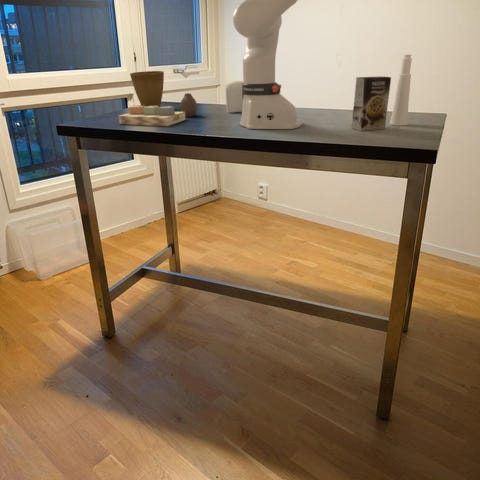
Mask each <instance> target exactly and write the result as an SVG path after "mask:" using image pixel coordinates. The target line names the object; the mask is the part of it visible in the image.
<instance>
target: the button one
mask: <svg viewBox="0 0 480 480" xmlns="http://www.w3.org/2000/svg"><path fill="white" fill-rule="evenodd" d="M143 107H145V106H141V105H132V106H129V107H128V111H129V113H130V114H139V115H140V114H143V113H144V110H143Z"/></svg>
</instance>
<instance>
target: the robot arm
mask: <svg viewBox="0 0 480 480" xmlns="http://www.w3.org/2000/svg"><path fill="white" fill-rule="evenodd" d="M298 1H299V0H244V1H243V2H242V3H239V4H238V5H237V7H236V8H235V10H234V13H233V14H232V15H233V17H232V22H233V26H234V29H235V30H236V32H238V34H239V35H242V37H244V38H246V39H247V40H246V46H245V51H244V55H243V57H242V76H243V77H242V81H243V83H242V98H243V109H242V112H241V117H240V122H239V125H240V126H242V127H244V128H247V129H250V130H252V129H254V130H292V129H297V128H299V127H302V126H303V124H304V123H303V120H302V119H299V118H297V117H298V116H297V110H296V107H295V105H294V104H293V103H292V102H290V101H289V100H288V99H287V98H286V97H284V96H283V95H282V94H281V89H282V84H279V83H278V82H276V57H277V49H278V43H279V35H280V29H281V27H282V22H283V21H282V20H283V17H282V15H283V14H284V13H285V12H286V11H287V10H289V9H290V8H291V7H292V6H293V5H295V4H296V3H297V2H298Z"/></svg>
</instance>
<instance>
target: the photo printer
mask: <svg viewBox="0 0 480 480" xmlns="http://www.w3.org/2000/svg"><path fill="white" fill-rule="evenodd" d="M242 83H243V80H234V81H231V82H230V81H229V82H228V83H226V84H225V107H226V109H225V110H226V113H227V114H233V113H242V109H243V98H242Z"/></svg>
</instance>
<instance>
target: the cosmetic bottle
mask: <svg viewBox="0 0 480 480" xmlns="http://www.w3.org/2000/svg"><path fill="white" fill-rule="evenodd" d="M412 59H413V58H412V54H403V58H402V59H401V61H402V62H401V69H400V70H401V71H400V73H399V74H398V75H399V76H398V80H397V85H396V86H397V87H396V92H395V97H394V103H393V108H392V112H391V117H390V121H389V125H391V126H396V127H402V126H409V102H410V91H411V90H410V89H411V79H412V77H411V76H412V74H410V73H411V69H412Z"/></svg>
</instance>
